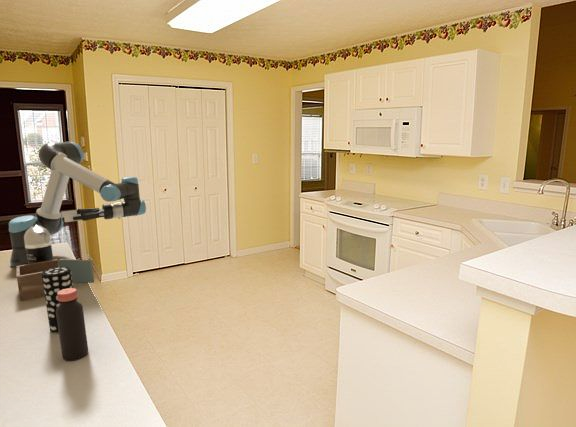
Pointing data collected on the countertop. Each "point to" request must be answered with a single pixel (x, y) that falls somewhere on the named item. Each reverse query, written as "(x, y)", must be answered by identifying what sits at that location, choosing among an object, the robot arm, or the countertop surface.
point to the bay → (32, 279)
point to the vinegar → (71, 325)
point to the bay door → (79, 269)
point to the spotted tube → (55, 291)
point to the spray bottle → (38, 244)
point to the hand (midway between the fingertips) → (62, 216)
